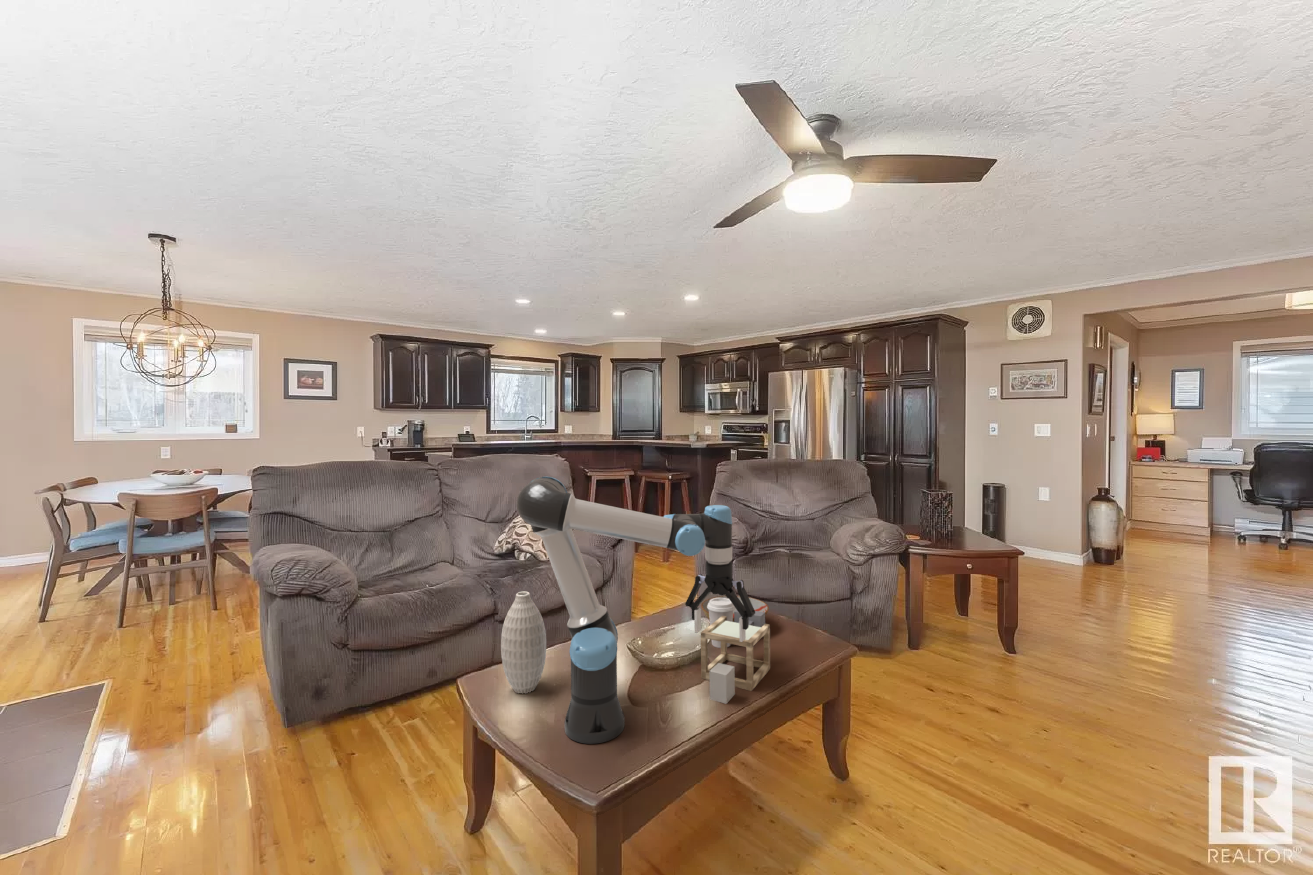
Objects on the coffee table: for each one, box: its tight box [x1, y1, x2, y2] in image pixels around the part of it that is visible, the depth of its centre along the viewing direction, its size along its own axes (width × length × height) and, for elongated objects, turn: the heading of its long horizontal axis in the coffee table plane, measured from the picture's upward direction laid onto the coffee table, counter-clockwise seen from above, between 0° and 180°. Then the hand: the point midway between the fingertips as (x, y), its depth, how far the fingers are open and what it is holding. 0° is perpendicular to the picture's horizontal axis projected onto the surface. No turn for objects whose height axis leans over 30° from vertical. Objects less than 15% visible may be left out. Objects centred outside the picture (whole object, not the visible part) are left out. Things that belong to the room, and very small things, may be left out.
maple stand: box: [700, 616, 771, 692], centre depth 169 cm, size 16×16×14 cm
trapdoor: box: [712, 610, 766, 640], centre depth 172 cm, size 20×12×5 cm, turn 149°
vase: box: [500, 591, 547, 695], centre depth 160 cm, size 13×13×28 cm
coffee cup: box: [707, 597, 735, 649], centre depth 191 cm, size 10×10×15 cm
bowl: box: [700, 595, 770, 622], centre depth 207 cm, size 25×25×8 cm
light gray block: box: [708, 663, 736, 705], centre depth 155 cm, size 6×5×8 cm
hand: (719, 635), depth 155 cm, fingers open, 13 cm apart
